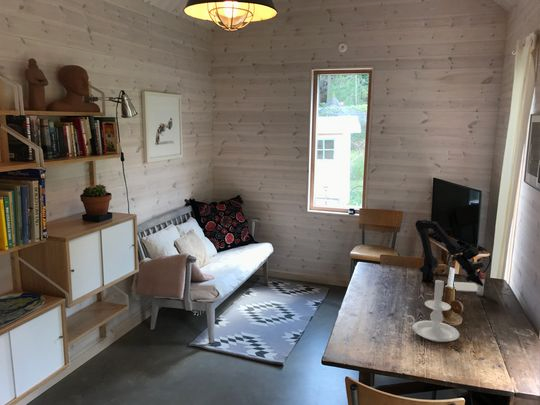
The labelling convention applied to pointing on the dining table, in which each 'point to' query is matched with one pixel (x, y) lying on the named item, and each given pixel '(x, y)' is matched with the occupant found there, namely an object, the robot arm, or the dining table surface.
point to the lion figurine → (442, 266)
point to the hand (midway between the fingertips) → (483, 284)
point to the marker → (480, 288)
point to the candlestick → (435, 319)
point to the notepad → (465, 287)
